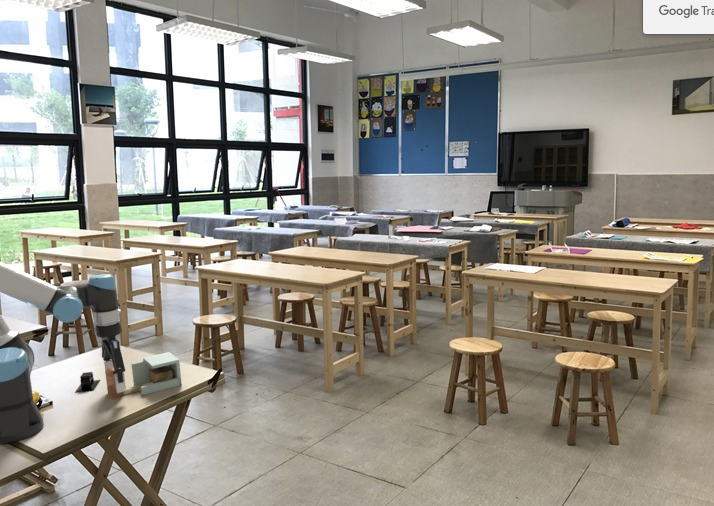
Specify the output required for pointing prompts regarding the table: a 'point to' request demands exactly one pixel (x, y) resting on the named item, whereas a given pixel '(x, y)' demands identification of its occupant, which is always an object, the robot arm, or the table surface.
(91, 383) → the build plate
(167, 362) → the shelf lane
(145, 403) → the table surface
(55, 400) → the table surface
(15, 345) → the robot arm
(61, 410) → the table surface
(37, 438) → the table surface
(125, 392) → the towed block
